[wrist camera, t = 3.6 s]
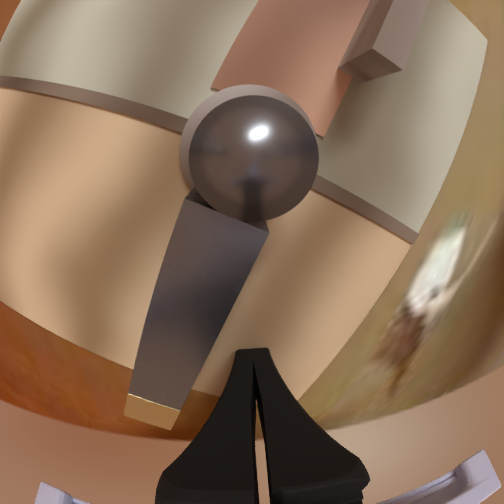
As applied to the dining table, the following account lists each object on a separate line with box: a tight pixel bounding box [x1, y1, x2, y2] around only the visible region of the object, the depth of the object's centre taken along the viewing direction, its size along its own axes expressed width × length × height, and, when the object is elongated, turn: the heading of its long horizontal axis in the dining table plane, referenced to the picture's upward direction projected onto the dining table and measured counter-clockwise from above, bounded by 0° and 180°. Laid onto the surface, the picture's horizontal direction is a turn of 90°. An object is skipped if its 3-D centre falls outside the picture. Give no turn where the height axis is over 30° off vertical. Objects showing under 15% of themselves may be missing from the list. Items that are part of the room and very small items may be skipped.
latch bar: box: [124, 95, 319, 430], centre depth 9 cm, size 13×3×3 cm, turn 156°
